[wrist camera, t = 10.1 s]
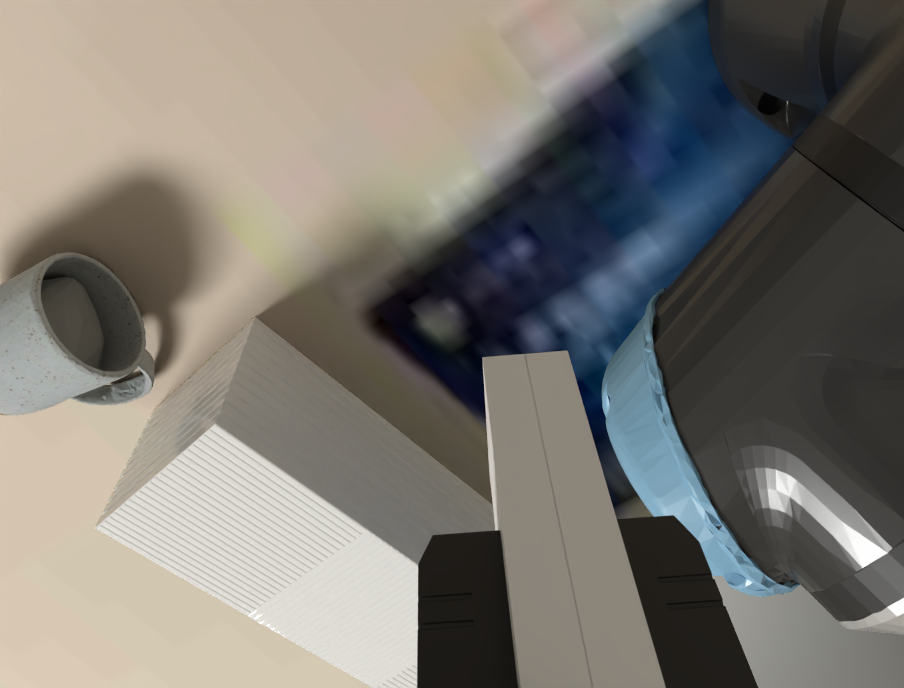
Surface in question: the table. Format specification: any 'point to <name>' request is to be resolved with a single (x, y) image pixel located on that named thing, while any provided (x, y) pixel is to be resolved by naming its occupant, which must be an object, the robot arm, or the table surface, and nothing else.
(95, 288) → the ceramic mug
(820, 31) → the robot arm
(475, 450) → the table surface
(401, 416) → the table surface
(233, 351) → the stack of papers
